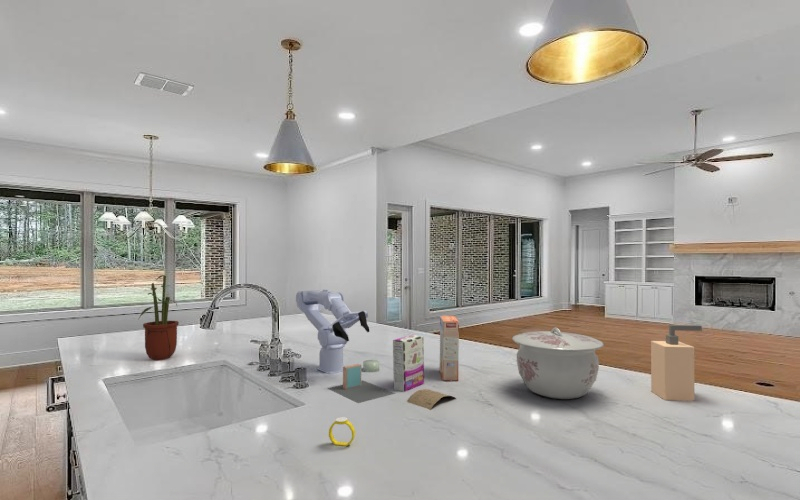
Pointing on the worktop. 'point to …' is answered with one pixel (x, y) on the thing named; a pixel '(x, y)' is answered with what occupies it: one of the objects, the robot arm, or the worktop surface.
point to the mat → (362, 392)
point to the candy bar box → (408, 362)
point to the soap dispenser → (673, 366)
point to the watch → (341, 421)
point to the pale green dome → (371, 366)
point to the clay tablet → (425, 398)
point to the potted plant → (160, 329)
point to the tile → (352, 376)
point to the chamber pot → (557, 363)
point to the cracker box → (449, 348)
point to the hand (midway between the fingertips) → (358, 334)
